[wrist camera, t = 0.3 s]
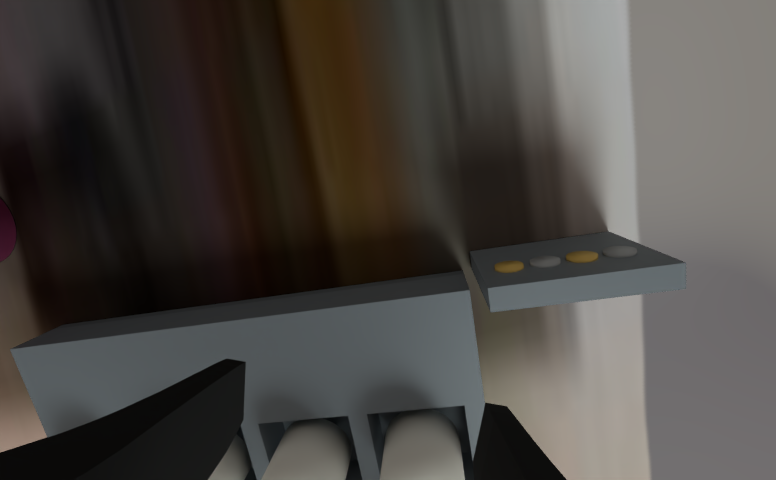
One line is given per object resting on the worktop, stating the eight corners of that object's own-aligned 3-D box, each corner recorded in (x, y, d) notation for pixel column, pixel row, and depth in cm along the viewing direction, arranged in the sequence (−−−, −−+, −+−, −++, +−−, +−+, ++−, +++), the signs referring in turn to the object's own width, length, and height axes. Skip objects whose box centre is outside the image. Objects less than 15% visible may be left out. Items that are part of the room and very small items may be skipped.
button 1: (464, 468, 20) (472, 530, 17) (392, 473, 20) (386, 534, 17) (454, 404, 19) (460, 456, 16) (379, 411, 20) (370, 462, 16)
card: (609, 250, 19) (686, 288, 13) (471, 268, 20) (490, 312, 14) (608, 228, 18) (685, 258, 13) (469, 248, 19) (487, 284, 14)
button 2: (357, 475, 21) (345, 536, 17) (291, 479, 21) (266, 539, 18) (343, 414, 20) (327, 465, 16) (274, 420, 20) (246, 471, 17)
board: (495, 510, 23) (506, 562, 20) (141, 528, 26) (106, 575, 23) (462, 270, 20) (469, 290, 17) (62, 324, 23) (10, 349, 20)
